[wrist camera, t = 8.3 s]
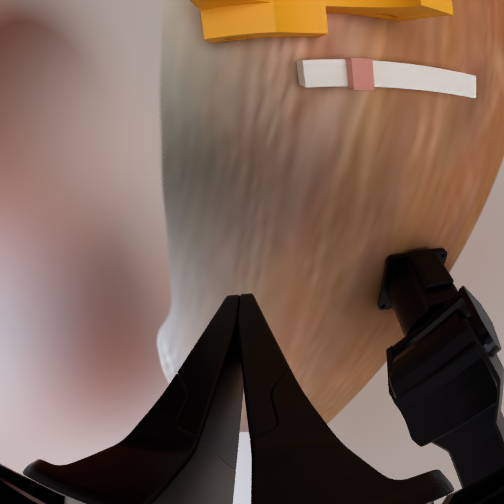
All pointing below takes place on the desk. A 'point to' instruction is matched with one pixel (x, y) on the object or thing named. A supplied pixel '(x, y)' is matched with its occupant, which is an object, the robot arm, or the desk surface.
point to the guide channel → (383, 76)
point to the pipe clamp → (301, 15)
